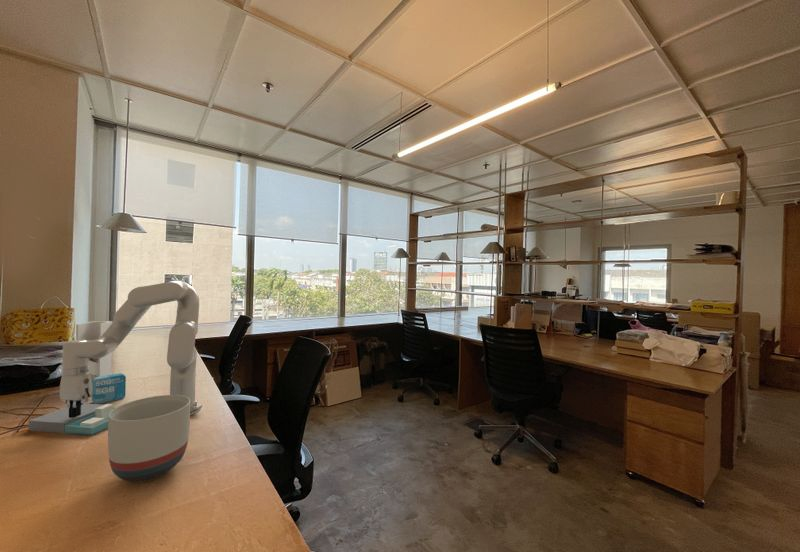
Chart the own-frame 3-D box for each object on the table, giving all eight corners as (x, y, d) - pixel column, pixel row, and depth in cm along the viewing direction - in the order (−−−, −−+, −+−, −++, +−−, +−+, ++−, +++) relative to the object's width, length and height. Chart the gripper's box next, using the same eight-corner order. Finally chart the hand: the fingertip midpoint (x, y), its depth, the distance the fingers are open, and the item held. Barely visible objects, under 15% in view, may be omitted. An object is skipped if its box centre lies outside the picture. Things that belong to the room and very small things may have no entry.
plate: (109, 414, 145) (110, 405, 145) (64, 433, 127) (64, 423, 127) (77, 411, 147) (78, 403, 147) (28, 430, 129) (28, 420, 129)
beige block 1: (93, 417, 134) (93, 424, 134) (80, 422, 129) (80, 430, 129) (104, 418, 133) (104, 425, 133) (91, 423, 128) (91, 431, 128)
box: (134, 415, 144) (135, 409, 144) (92, 435, 126) (92, 427, 126) (110, 414, 145) (110, 407, 145) (64, 433, 127) (64, 425, 127)
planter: (177, 450, 117) (178, 390, 117) (198, 472, 104) (200, 405, 104) (100, 476, 101) (102, 407, 101) (114, 507, 88) (116, 427, 88)
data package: (92, 405, 155) (93, 379, 155) (91, 402, 158) (92, 377, 158) (125, 398, 164) (125, 374, 164) (123, 395, 167) (124, 372, 167)
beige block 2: (106, 415, 142) (113, 415, 142) (95, 420, 138) (101, 420, 137) (107, 403, 142) (113, 404, 142) (95, 408, 138) (101, 408, 137)
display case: (88, 383, 183) (89, 321, 183) (111, 382, 187) (112, 321, 187) (74, 390, 172) (76, 324, 173) (99, 389, 176) (100, 324, 176)
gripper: (101, 369, 135) (100, 413, 135) (69, 367, 136) (68, 411, 136) (82, 374, 127) (81, 421, 127) (48, 372, 129) (47, 419, 129)
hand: (74, 416), depth 132 cm, fingers closed
